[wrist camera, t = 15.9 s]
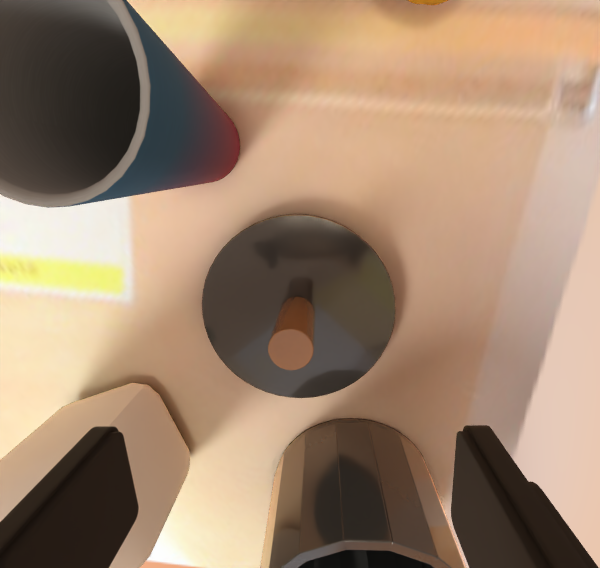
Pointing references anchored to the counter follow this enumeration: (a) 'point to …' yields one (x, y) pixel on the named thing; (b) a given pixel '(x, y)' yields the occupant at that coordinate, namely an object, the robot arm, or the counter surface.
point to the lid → (298, 306)
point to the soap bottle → (140, 448)
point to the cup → (100, 107)
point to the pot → (356, 503)
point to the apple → (428, 1)
